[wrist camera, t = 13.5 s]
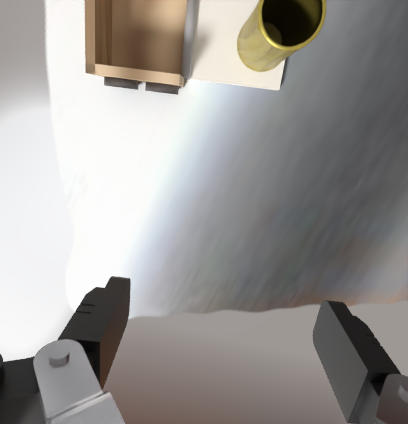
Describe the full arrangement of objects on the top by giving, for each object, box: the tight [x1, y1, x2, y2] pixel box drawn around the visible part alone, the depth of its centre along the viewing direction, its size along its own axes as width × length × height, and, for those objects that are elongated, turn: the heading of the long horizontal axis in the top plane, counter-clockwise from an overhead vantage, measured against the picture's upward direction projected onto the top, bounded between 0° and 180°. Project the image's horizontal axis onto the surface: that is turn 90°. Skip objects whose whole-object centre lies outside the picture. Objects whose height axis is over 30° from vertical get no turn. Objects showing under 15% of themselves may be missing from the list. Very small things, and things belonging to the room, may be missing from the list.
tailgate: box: [181, 0, 285, 90], centre depth 37 cm, size 12×10×2 cm
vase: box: [237, 0, 326, 72], centre depth 30 cm, size 6×6×14 cm
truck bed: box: [85, 0, 187, 94], centre depth 34 cm, size 10×14×7 cm
